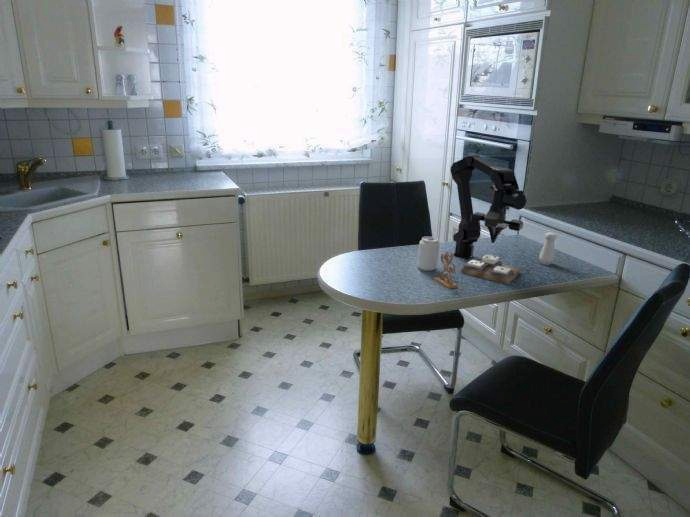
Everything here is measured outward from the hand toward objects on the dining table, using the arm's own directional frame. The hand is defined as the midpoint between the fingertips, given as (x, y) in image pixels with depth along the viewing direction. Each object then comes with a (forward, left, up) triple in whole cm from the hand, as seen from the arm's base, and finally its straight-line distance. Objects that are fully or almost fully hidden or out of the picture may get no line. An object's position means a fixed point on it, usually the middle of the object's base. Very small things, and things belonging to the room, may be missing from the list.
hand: (492, 242), depth 196 cm
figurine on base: (-7, -27, -11) cm, 29 cm away
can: (-19, -17, -11) cm, 27 cm away
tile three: (-3, -8, -9) cm, 12 cm away
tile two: (0, 0, -8) cm, 8 cm away
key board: (+2, -4, -11) cm, 12 cm away
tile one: (+7, -8, -9) cm, 13 cm away
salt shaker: (+16, +23, -11) cm, 31 cm away
